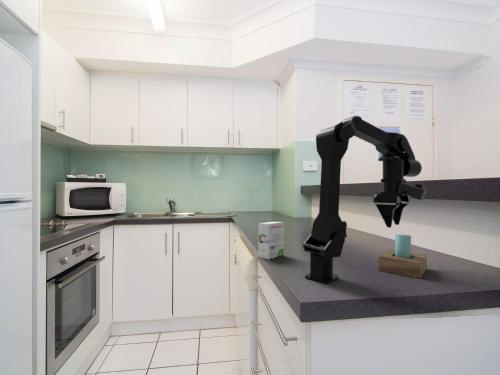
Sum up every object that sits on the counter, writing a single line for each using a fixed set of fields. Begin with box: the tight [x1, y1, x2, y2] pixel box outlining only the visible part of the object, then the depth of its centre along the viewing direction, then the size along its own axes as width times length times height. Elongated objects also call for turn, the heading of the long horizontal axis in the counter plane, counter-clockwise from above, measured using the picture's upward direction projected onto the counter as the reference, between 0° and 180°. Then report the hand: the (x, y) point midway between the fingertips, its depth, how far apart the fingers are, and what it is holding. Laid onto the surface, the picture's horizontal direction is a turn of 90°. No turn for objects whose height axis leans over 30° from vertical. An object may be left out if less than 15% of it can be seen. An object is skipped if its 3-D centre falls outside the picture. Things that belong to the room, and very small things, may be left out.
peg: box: [394, 233, 412, 259], centre depth 74 cm, size 4×4×10 cm
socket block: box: [378, 249, 428, 278], centre depth 74 cm, size 12×10×4 cm
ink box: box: [257, 221, 285, 260], centre depth 88 cm, size 8×5×12 cm, turn 135°
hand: (393, 226), depth 79 cm, fingers open, 9 cm apart
